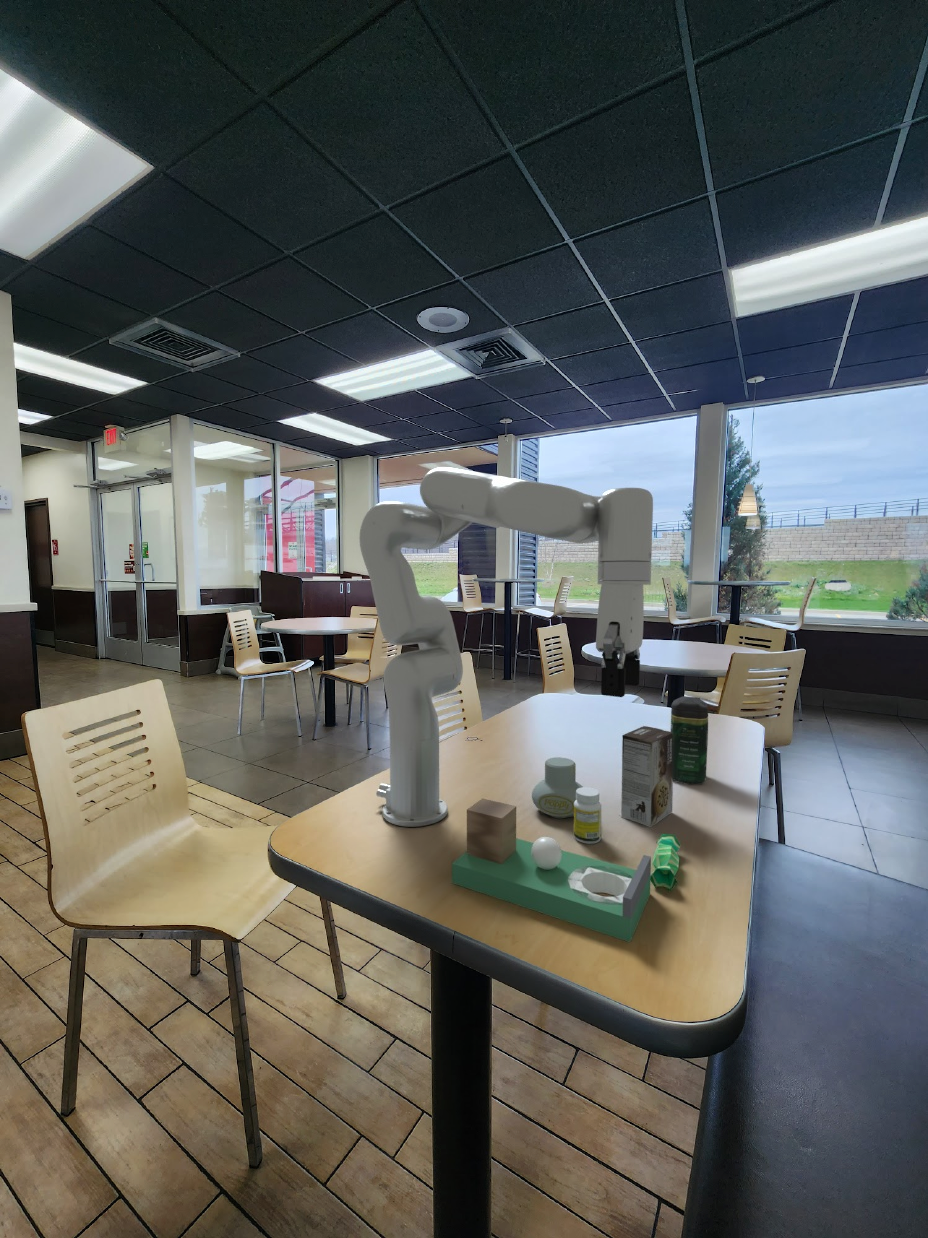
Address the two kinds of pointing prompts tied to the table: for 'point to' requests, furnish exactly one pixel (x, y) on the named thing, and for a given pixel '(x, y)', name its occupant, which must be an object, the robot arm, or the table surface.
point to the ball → (546, 853)
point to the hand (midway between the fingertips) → (621, 689)
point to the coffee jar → (689, 739)
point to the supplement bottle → (587, 816)
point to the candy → (665, 862)
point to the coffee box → (647, 775)
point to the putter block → (491, 830)
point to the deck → (564, 888)
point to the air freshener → (557, 788)
